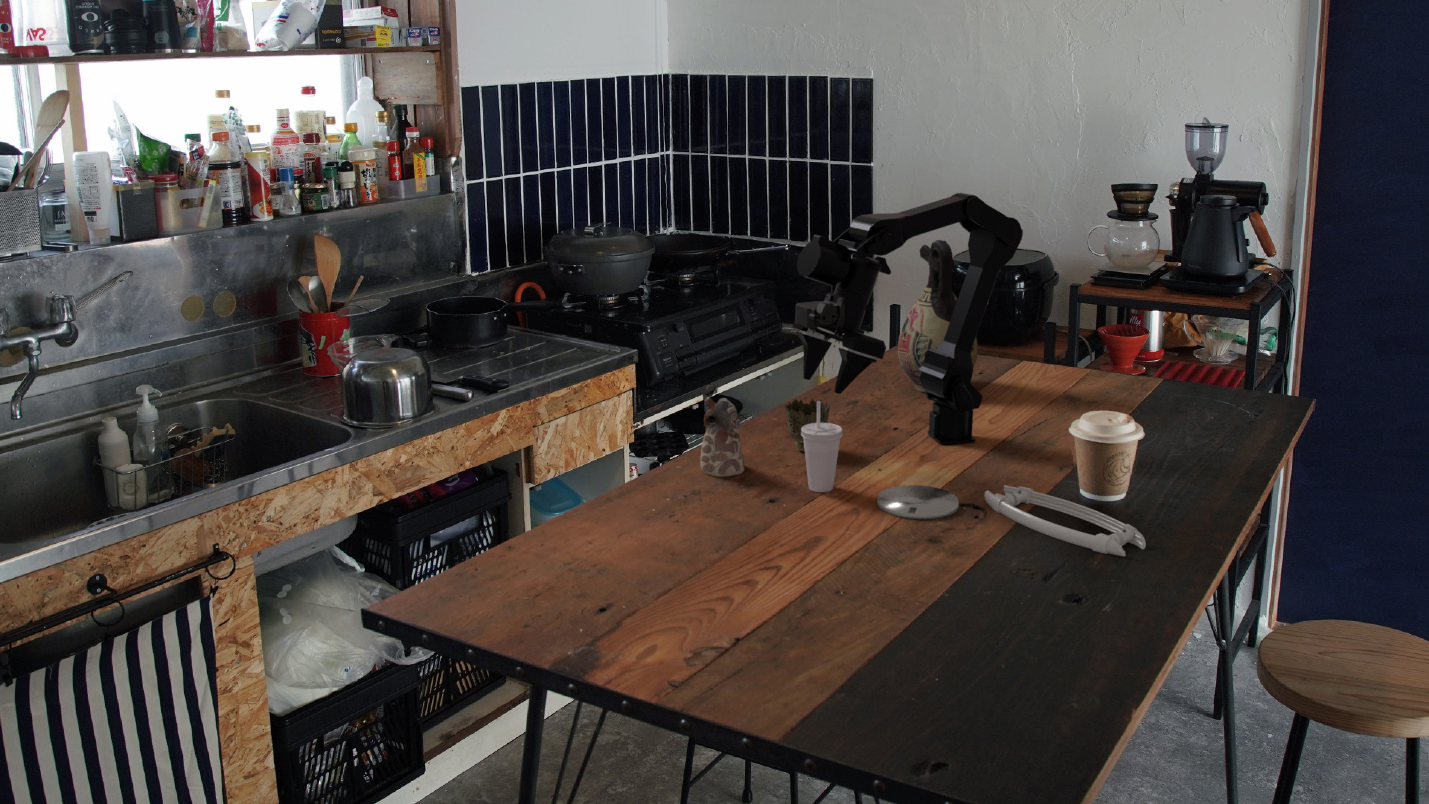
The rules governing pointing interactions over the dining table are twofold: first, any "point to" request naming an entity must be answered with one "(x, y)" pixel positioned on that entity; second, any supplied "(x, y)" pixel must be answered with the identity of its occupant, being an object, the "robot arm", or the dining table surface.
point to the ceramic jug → (930, 313)
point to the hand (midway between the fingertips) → (821, 386)
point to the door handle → (1096, 543)
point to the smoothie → (821, 453)
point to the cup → (803, 418)
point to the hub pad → (917, 502)
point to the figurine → (721, 440)
